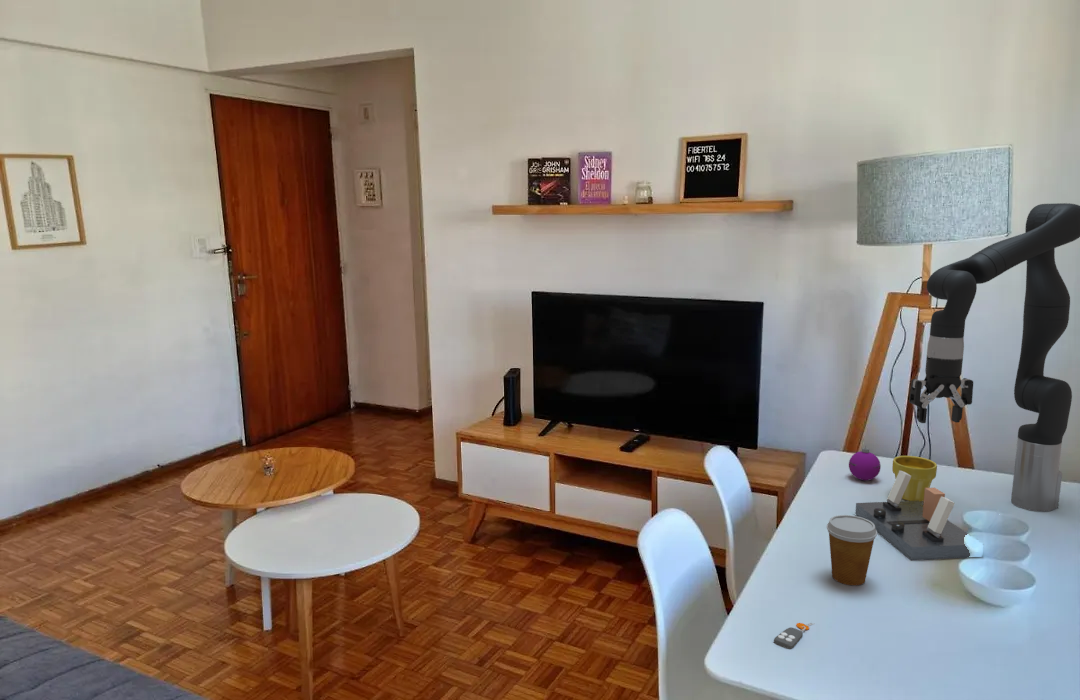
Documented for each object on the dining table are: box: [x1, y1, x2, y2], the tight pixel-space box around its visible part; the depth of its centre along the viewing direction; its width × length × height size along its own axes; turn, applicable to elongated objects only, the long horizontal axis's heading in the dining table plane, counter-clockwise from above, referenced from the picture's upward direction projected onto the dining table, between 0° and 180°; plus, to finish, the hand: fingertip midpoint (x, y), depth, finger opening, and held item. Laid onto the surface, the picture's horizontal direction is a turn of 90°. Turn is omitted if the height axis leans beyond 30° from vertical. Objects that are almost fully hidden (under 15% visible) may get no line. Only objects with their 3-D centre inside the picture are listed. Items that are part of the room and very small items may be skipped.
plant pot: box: [892, 455, 938, 503], centre depth 193 cm, size 10×10×10 cm
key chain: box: [773, 622, 816, 650], centre depth 133 cm, size 13×4×2 cm, turn 137°
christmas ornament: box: [848, 445, 882, 481], centre depth 207 cm, size 8×8×10 cm
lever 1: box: [886, 471, 911, 508], centre depth 179 cm, size 2×4×8 cm, turn 4°
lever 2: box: [927, 496, 955, 538], centre depth 162 cm, size 2×4×8 cm, turn 4°
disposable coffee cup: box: [826, 514, 878, 586], centre depth 151 cm, size 10×10×12 cm
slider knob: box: [922, 487, 946, 522], centre depth 171 cm, size 2×4×7 cm, turn 4°
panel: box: [854, 500, 970, 561], centre depth 172 cm, size 16×25×4 cm, turn 3°
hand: (938, 422), depth 177 cm, fingers open, 8 cm apart
